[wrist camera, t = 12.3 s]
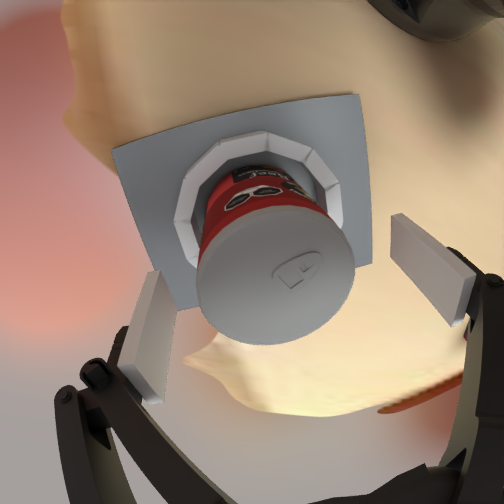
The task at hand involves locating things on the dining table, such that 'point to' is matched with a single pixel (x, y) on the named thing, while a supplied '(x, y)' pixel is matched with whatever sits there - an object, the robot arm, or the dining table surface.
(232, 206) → the canned food
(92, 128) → the dining table surface
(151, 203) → the holder
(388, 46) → the dining table surface
